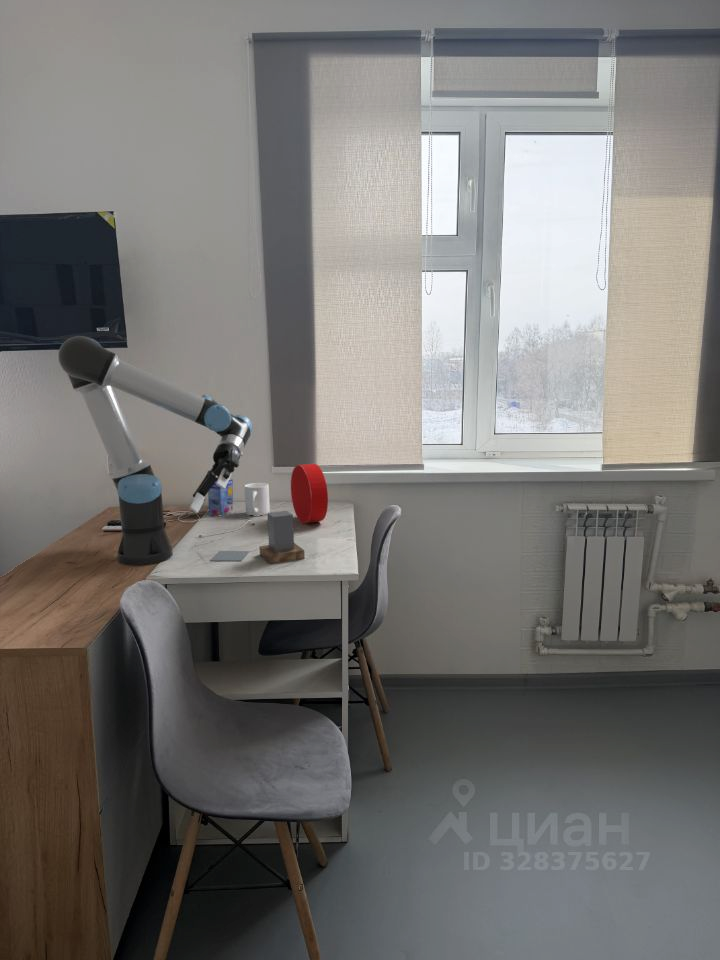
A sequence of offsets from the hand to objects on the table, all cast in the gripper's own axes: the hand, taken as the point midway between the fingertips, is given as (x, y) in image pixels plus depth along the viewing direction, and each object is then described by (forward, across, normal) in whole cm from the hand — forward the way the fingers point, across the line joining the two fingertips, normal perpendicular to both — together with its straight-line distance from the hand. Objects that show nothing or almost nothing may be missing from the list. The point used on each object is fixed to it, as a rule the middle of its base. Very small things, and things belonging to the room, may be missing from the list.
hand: (206, 498), depth 184 cm
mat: (+6, +8, -16) cm, 19 cm away
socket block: (+5, -3, -26) cm, 27 cm away
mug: (-39, +31, -29) cm, 58 cm away
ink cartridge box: (-41, +42, -20) cm, 62 cm away
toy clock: (-32, +12, -40) cm, 53 cm away
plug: (+5, -3, -26) cm, 27 cm away
